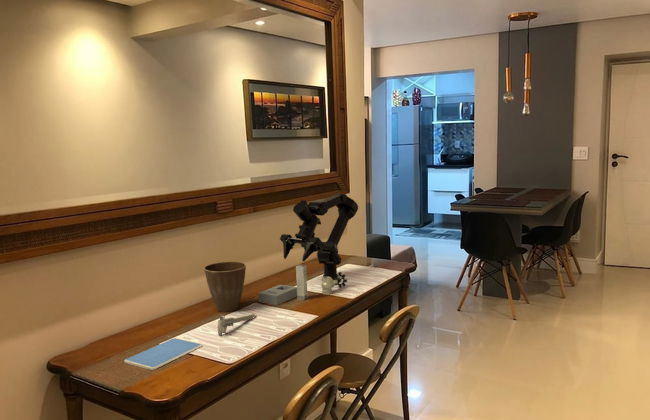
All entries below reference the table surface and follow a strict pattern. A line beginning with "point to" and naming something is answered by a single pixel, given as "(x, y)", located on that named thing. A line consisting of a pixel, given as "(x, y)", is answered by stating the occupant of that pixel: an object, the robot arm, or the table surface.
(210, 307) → the table surface
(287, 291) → the bore block
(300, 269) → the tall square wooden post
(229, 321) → the caliper
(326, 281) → the valve
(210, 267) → the plant pot
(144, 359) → the tablet computer
